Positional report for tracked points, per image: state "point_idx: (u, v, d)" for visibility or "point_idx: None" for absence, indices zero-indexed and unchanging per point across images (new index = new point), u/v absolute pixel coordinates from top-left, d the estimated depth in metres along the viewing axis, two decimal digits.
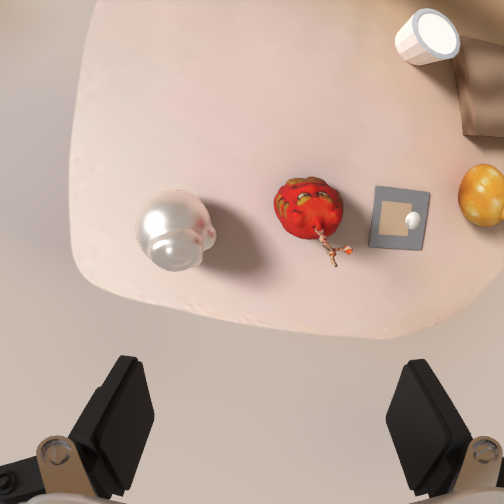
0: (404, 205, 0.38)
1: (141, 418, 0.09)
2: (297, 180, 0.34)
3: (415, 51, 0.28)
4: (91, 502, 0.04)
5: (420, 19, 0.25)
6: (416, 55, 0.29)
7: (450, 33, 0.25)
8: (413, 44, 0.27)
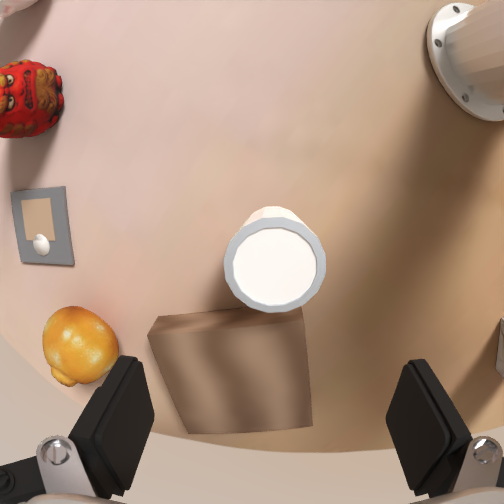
0: (51, 229, 0.28)
1: (141, 418, 0.09)
2: (42, 76, 0.20)
3: (240, 228, 0.23)
4: (91, 502, 0.04)
5: (294, 236, 0.20)
6: (237, 232, 0.24)
7: (283, 295, 0.22)
8: (248, 223, 0.22)
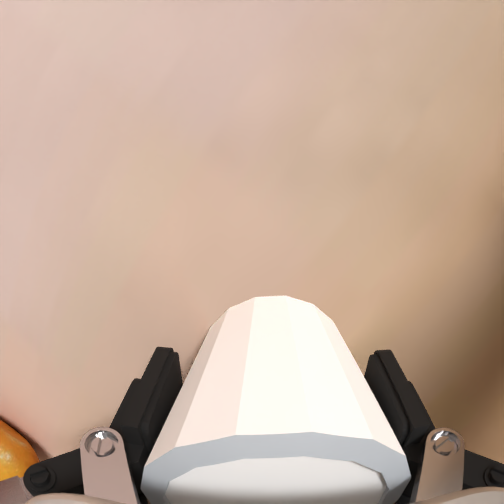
0: None
1: None
2: None
3: (185, 392, 0.08)
4: (91, 502, 0.04)
5: (340, 465, 0.05)
6: (183, 387, 0.09)
7: None
8: (201, 400, 0.07)
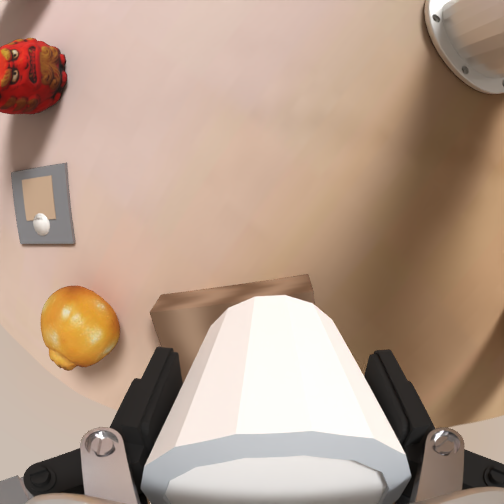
0: (51, 207, 0.27)
1: None
2: (47, 53, 0.19)
3: (185, 391, 0.08)
4: (91, 502, 0.04)
5: (340, 464, 0.05)
6: (183, 387, 0.09)
7: None
8: (201, 400, 0.07)
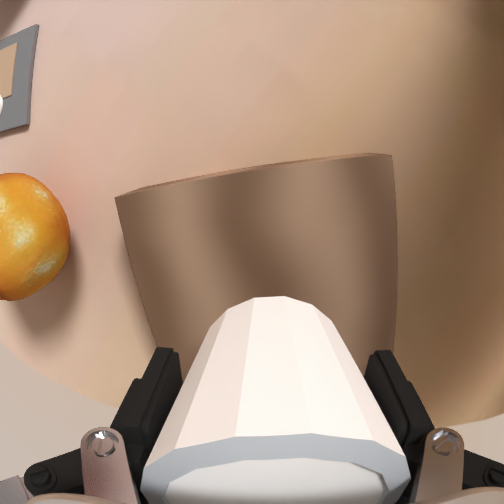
0: (9, 81, 0.16)
1: None
2: None
3: (184, 393, 0.08)
4: (91, 502, 0.04)
5: (340, 466, 0.05)
6: None
7: None
8: (200, 402, 0.07)
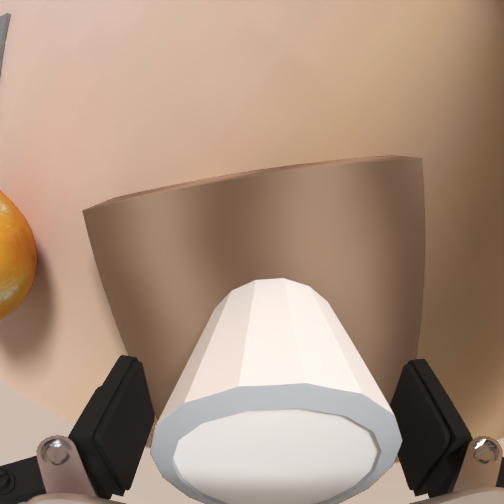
0: None
1: (141, 418, 0.09)
2: None
3: (192, 362, 0.09)
4: (91, 502, 0.04)
5: (333, 421, 0.06)
6: (190, 359, 0.10)
7: (293, 500, 0.08)
8: (207, 365, 0.08)
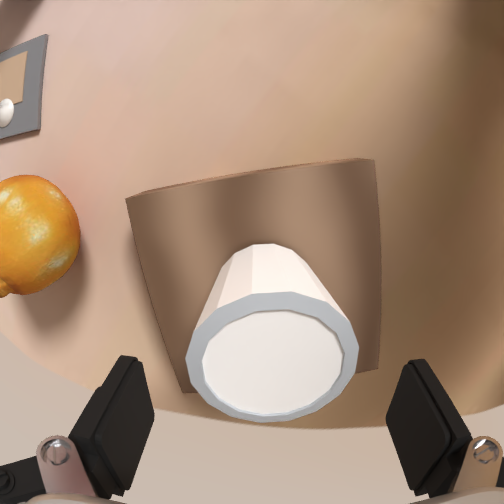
0: (19, 87, 0.17)
1: (141, 418, 0.09)
2: None
3: (213, 294, 0.13)
4: (91, 502, 0.04)
5: (310, 322, 0.11)
6: (209, 296, 0.14)
7: (285, 402, 0.13)
8: (227, 291, 0.12)
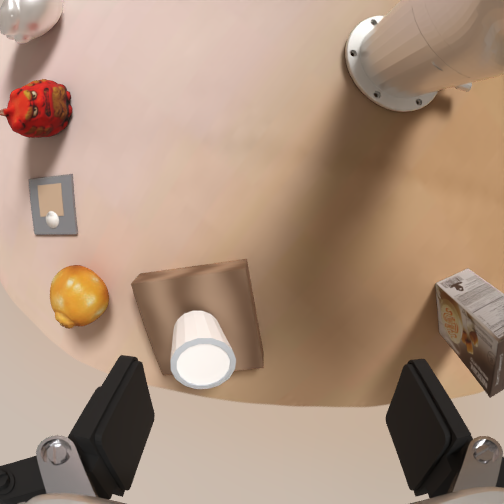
0: (60, 207, 0.37)
1: (141, 418, 0.09)
2: (57, 92, 0.29)
3: (189, 329, 0.32)
4: (91, 502, 0.04)
5: (224, 353, 0.31)
6: (184, 328, 0.33)
7: (199, 380, 0.32)
8: (198, 331, 0.32)
